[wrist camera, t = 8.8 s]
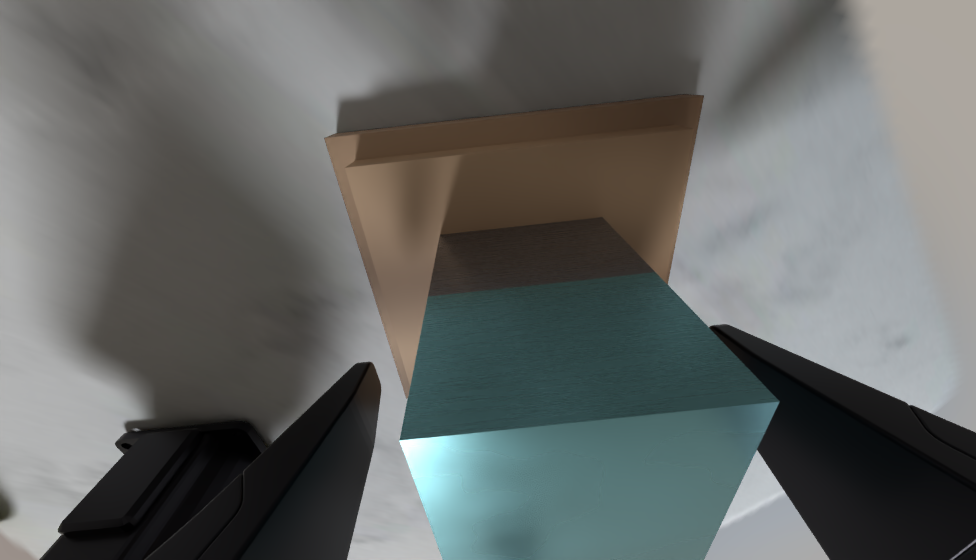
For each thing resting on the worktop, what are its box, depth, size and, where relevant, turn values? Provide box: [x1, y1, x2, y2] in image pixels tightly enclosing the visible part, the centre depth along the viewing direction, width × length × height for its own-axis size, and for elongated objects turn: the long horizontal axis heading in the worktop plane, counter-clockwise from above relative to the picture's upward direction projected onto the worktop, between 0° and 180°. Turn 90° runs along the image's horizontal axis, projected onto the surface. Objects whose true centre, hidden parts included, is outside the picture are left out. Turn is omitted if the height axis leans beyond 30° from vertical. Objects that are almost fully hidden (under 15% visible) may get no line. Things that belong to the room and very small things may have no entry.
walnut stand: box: [324, 94, 704, 398], centre depth 13 cm, size 11×11×2 cm
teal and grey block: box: [400, 217, 780, 560], centre depth 9 cm, size 5×5×7 cm
